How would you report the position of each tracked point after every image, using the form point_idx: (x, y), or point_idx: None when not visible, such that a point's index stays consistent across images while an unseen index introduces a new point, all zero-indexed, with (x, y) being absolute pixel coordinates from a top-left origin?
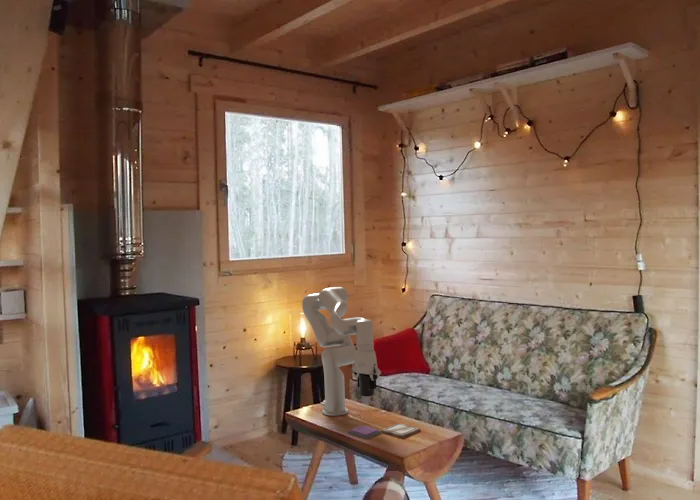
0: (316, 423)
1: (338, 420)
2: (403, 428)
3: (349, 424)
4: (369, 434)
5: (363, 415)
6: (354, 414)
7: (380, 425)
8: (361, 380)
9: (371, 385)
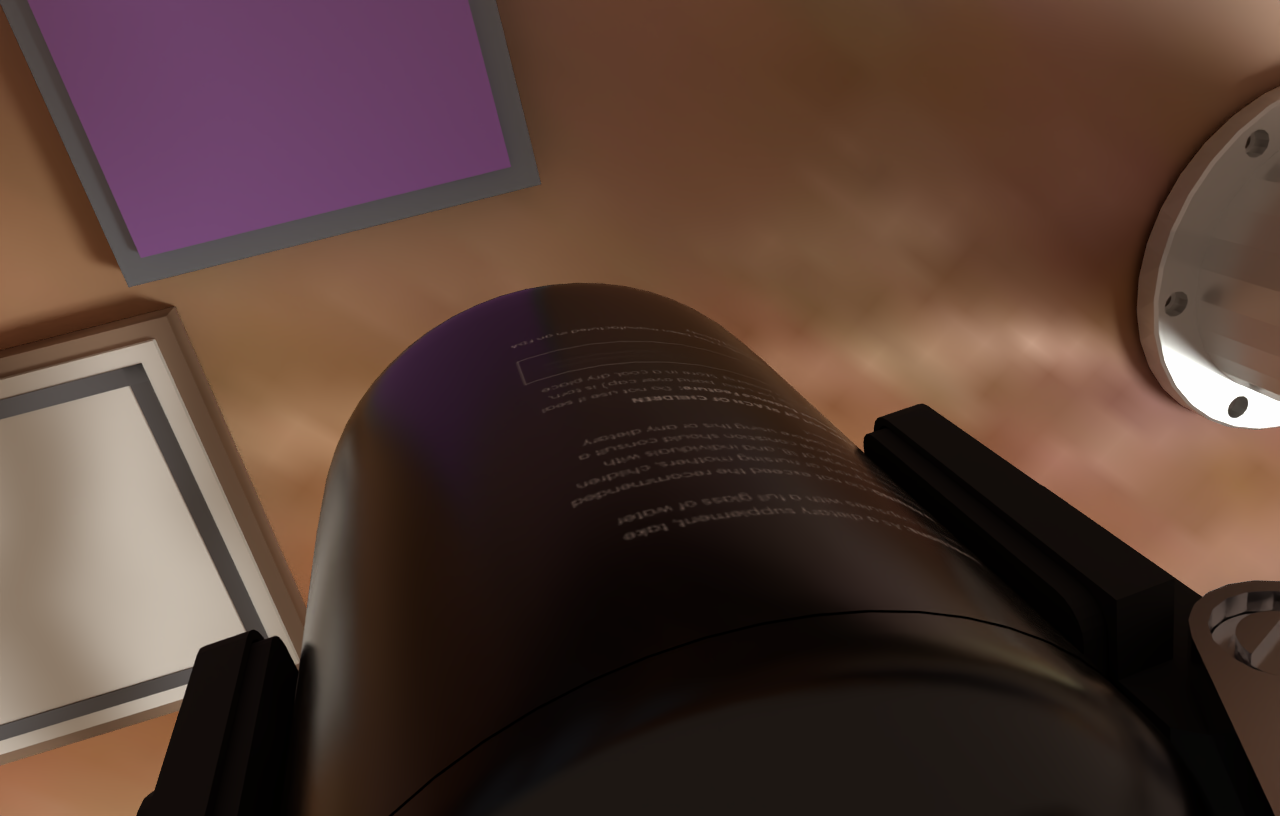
0: None
1: (1036, 94)
2: (38, 611)
3: (794, 123)
4: (31, 11)
5: None
6: (1048, 407)
7: None
8: (646, 560)
9: (167, 760)
